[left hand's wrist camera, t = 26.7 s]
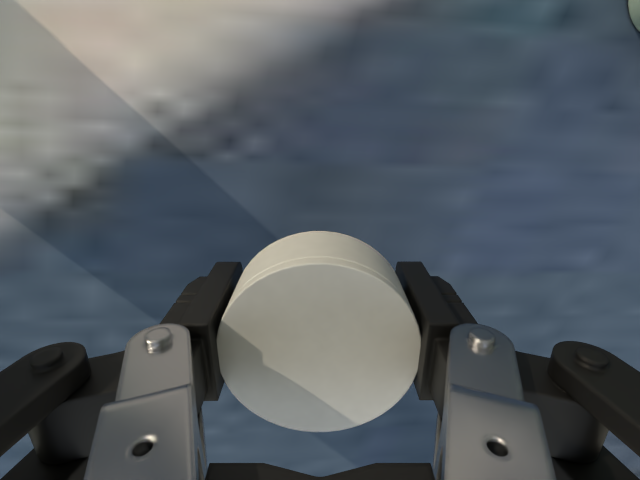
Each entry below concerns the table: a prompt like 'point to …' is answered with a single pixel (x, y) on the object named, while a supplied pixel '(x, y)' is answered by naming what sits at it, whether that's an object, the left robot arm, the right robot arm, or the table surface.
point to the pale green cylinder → (635, 12)
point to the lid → (318, 334)
